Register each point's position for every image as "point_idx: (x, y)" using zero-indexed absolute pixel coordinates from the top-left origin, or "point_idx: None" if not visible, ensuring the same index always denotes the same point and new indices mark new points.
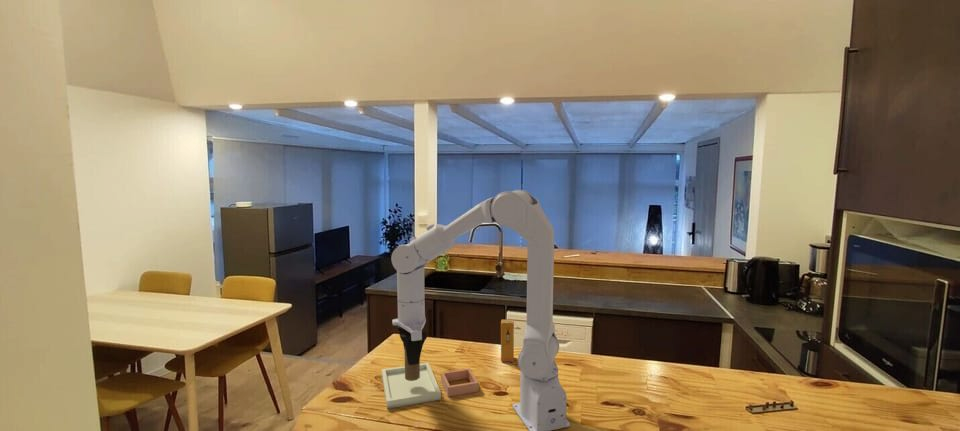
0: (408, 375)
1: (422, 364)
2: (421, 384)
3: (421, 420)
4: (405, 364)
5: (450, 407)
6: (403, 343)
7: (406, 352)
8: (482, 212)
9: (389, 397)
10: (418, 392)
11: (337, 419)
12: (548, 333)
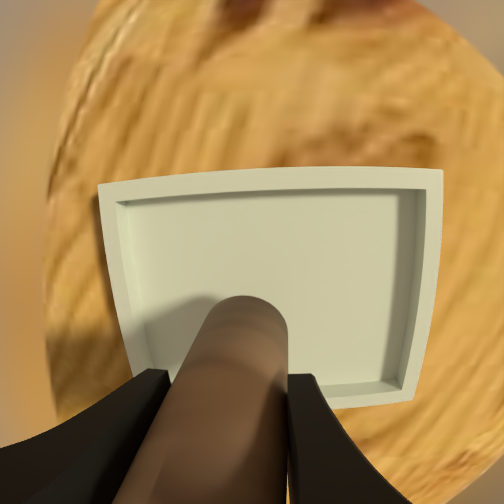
0: (203, 324)
1: (409, 377)
2: None
3: (49, 298)
4: (207, 344)
5: (108, 392)
6: (300, 454)
7: (66, 421)
8: None
9: (124, 196)
10: (189, 326)
11: (107, 12)
12: None
